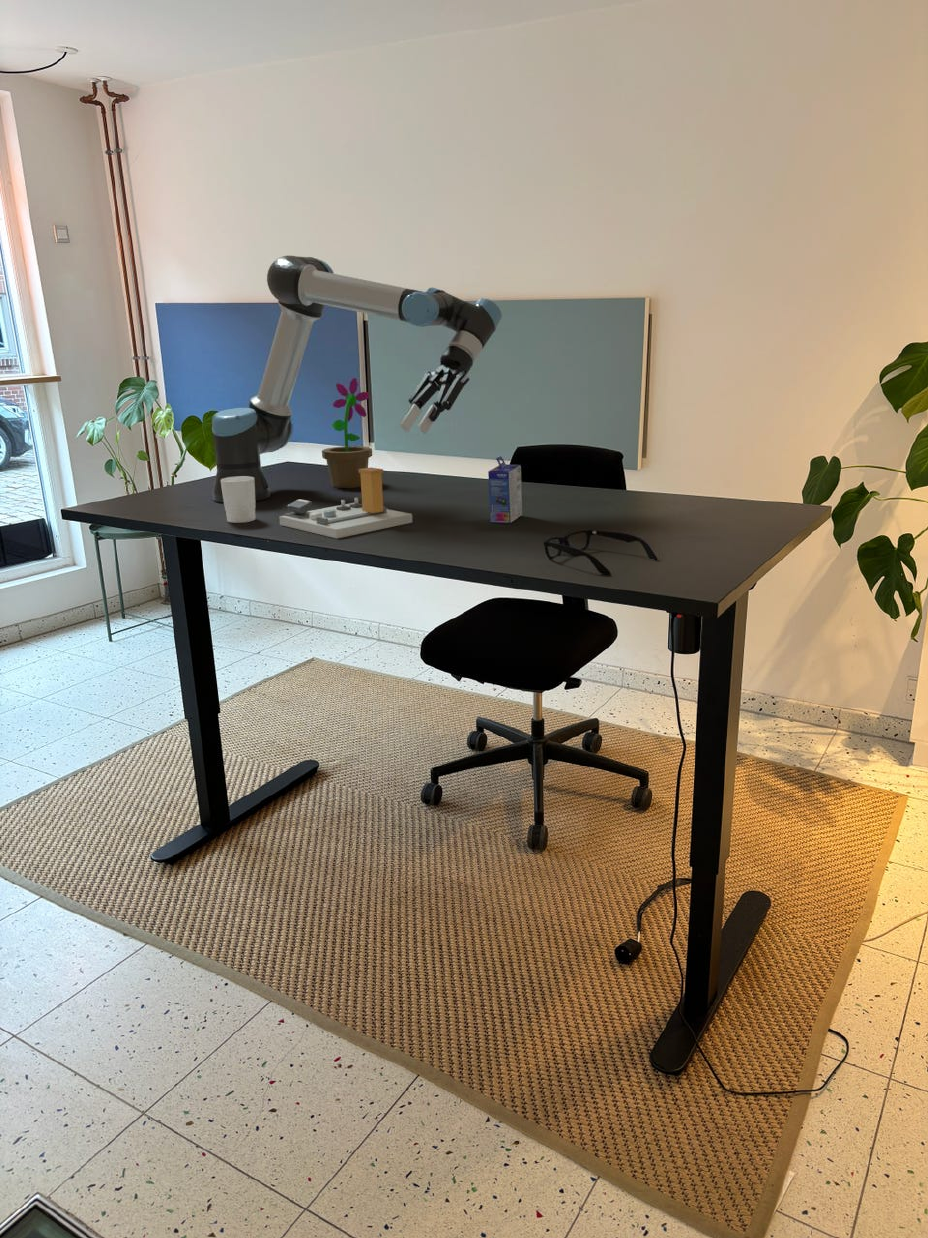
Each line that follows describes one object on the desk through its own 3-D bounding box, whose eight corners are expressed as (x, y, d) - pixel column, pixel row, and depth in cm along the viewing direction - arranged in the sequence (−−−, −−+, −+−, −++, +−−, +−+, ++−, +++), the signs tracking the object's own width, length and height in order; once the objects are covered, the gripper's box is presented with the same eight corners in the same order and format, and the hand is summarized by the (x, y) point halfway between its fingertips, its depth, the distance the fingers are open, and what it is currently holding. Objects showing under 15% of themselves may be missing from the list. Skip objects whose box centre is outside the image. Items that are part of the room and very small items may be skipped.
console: (279, 524, 215) (277, 506, 214) (353, 510, 230) (352, 493, 228) (336, 538, 200) (335, 519, 199) (412, 522, 215) (411, 504, 213)
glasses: (589, 551, 189) (588, 527, 188) (660, 561, 177) (660, 536, 175) (534, 566, 179) (533, 541, 177) (606, 578, 166) (606, 551, 165)
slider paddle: (360, 511, 215) (358, 469, 212) (372, 508, 217) (370, 467, 214) (373, 513, 212) (370, 471, 209) (385, 511, 214) (383, 469, 211)
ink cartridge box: (500, 514, 222) (500, 454, 217) (522, 515, 220) (522, 454, 215) (488, 522, 213) (487, 459, 208) (511, 523, 211) (510, 460, 206)
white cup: (264, 518, 223) (261, 477, 220) (244, 524, 216) (240, 482, 213) (238, 515, 226) (234, 475, 223) (217, 522, 220) (213, 480, 216)
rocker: (288, 510, 215) (286, 504, 215) (300, 504, 217) (298, 498, 217) (301, 513, 212) (299, 507, 211) (313, 507, 214) (311, 501, 213)
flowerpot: (382, 482, 270) (377, 377, 261) (357, 490, 258) (351, 380, 248) (340, 479, 276) (334, 376, 267) (314, 487, 263) (306, 379, 254)
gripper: (495, 366, 220) (448, 442, 214) (442, 365, 233) (396, 436, 227) (480, 343, 215) (430, 421, 209) (426, 343, 228) (378, 416, 222)
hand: (412, 429), depth 218 cm, fingers open, 6 cm apart
